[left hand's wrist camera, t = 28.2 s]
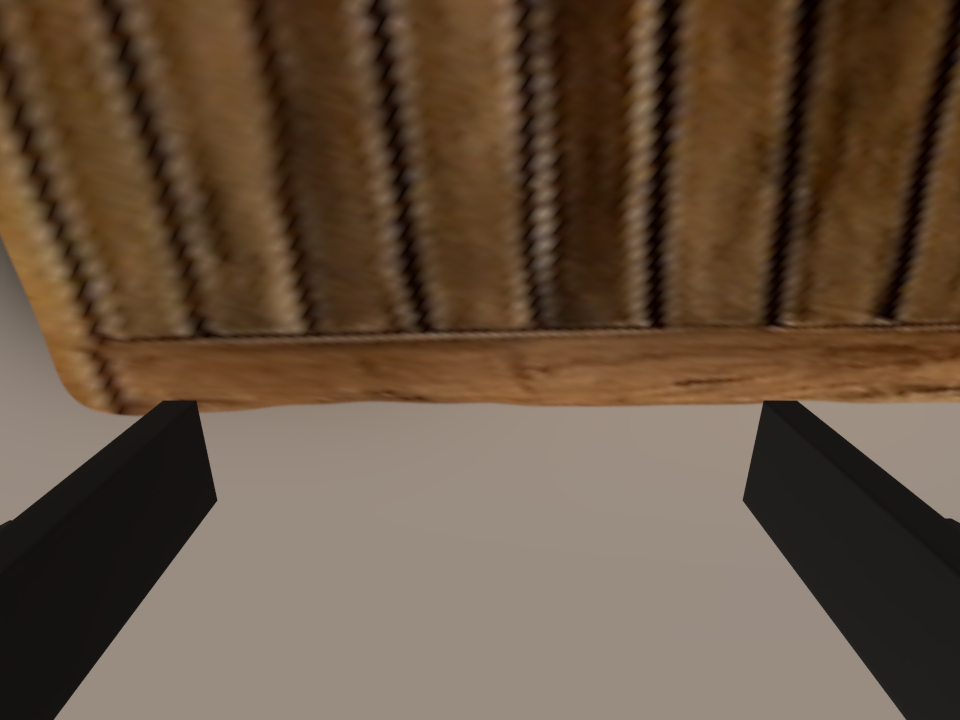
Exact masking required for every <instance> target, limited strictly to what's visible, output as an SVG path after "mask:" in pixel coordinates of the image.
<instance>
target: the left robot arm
mask: <svg viewBox="0 0 960 720" xmlns="http://www.w3.org/2000/svg"><path fill="white" fill-rule="evenodd" d="M216 502H217V497H216V492H215V487H214V482H213V478H212V473H211V468H210V463H209V459H208V454H207V449H206V445H205V440H204V435H203V430H202V426H201V421H200V416H199V411H198V407H197V402H196V401H162V402H161V403H160V404H158V405H157V406H156V407H155V408H153V409H152V410H151V411H150V412H148V413H147V414H146V415H145V416H143V417H142V418H141V419H139V420H138V421H137V422H136V423H134V424H133V425H132V426H131V427H129V428H128V429H127V430H126V431H124V432H123V433H122V434H121V435H119V436H118V437H117V438H116V439H114V440H113V441H112V442H111V443H109V444H108V445H107V446H106V447H104V448H103V449H102V450H101V451H99V452H98V453H97V454H96V455H94V456H93V457H92V458H90V459H89V460H88V461H87V462H85V463H84V464H83V465H82V466H81V467H79V468H78V469H77V470H75V471H74V472H73V473H72V474H70V475H69V476H68V477H67V478H65V479H64V480H63V481H62V482H60V483H59V484H58V485H57V486H55V487H54V488H53V489H52V490H50V491H49V492H48V493H47V494H45V495H44V496H43V497H41V498H40V499H39V500H38V501H36V502H35V503H34V504H33V505H31V506H30V507H29V508H28V509H27V510H25V511H24V512H23V513H21V514H20V515H19V516H18V517H16V518H15V519H14V520H10V521H8V522H6V523H4V524H2V525H0V720H54V719H55V717H56V716H57V715H58V713H59V712H60V711H61V709H62V708H63V707H64V705H65V704H66V703H67V701H68V700H69V699H70V697H71V696H72V694H73V693H74V692H75V690H76V689H77V688H78V686H79V685H80V684H81V682H82V681H83V680H84V678H85V677H86V676H87V674H88V673H89V672H90V670H91V669H92V668H93V666H94V665H95V664H96V662H97V661H98V660H99V658H100V657H101V656H102V654H103V653H104V652H105V650H106V649H107V648H108V646H109V645H110V643H111V642H112V641H113V640H114V638H115V637H116V636H117V634H118V633H119V631H120V630H121V629H122V627H123V626H124V625H125V623H126V622H127V621H128V619H129V618H130V617H131V615H132V614H133V613H134V611H135V610H136V609H137V607H138V606H139V605H140V603H141V602H142V601H143V599H144V598H145V597H146V595H147V594H148V593H149V591H150V590H151V589H152V587H153V586H154V585H155V583H156V582H157V580H158V579H159V578H160V577H161V575H162V574H163V573H164V571H165V570H166V569H167V567H168V566H169V564H170V563H171V562H172V560H173V559H174V558H175V556H176V555H177V554H178V552H179V551H180V550H181V548H182V547H183V546H184V544H185V543H186V542H187V540H188V539H189V538H190V536H191V535H192V534H193V532H194V531H195V530H196V528H197V527H198V526H199V524H200V523H201V522H202V520H203V519H204V518H205V516H206V515H207V514H208V512H209V511H210V510H211V508H212V507H213V506H214V504H215V503H216ZM743 502H744V503H745V504H746V506H747V507H748V508H749V510H750V511H751V512H752V514H753V515H754V516H755V518H756V519H757V520H758V522H759V523H760V524H761V526H762V527H763V528H764V530H765V531H766V532H767V534H768V535H769V536H770V538H771V539H772V540H773V542H774V543H775V544H776V546H777V547H778V548H779V550H780V551H781V552H782V554H783V555H784V556H785V558H786V559H787V560H788V562H789V563H790V564H791V566H792V567H793V569H794V570H795V571H796V573H797V574H798V575H799V577H800V578H801V579H802V581H803V582H804V583H805V585H806V586H807V587H808V589H809V590H810V591H811V593H812V594H813V595H814V597H815V598H816V599H817V601H818V602H819V603H820V605H821V606H822V607H823V609H824V610H825V611H826V613H827V614H828V615H829V617H830V618H831V619H832V621H833V622H834V623H835V625H836V626H837V627H838V629H839V630H840V631H841V633H842V634H843V636H844V637H845V638H846V640H847V641H848V642H849V644H850V645H851V646H852V648H853V649H854V650H855V652H856V653H857V654H858V656H859V657H860V658H861V660H862V661H863V662H864V664H865V665H866V666H867V668H868V669H869V670H870V672H871V673H872V674H873V676H874V677H875V678H876V680H877V681H878V682H879V684H880V685H881V686H882V688H883V689H884V690H885V692H886V693H887V694H888V696H889V697H890V698H891V700H892V701H893V702H894V704H895V705H896V707H897V708H898V709H899V711H900V712H901V713H902V714H903V716H904V717H905V719H906V720H960V523H959V522H957V521H955V520H953V519H945V518H944V517H942V516H941V515H940V514H939V513H937V512H936V511H935V510H933V509H932V508H931V507H930V506H929V505H927V504H926V503H925V502H924V501H922V500H921V499H920V498H918V497H917V496H916V495H915V494H913V493H912V492H911V491H910V490H908V489H907V488H906V487H905V486H903V485H902V484H901V483H900V482H898V481H897V480H896V479H895V478H893V477H892V476H891V475H890V474H888V473H887V472H886V471H885V470H883V469H882V468H881V467H880V466H878V465H877V464H876V463H875V462H873V461H872V460H871V459H869V458H868V457H867V456H866V455H864V454H863V453H862V452H861V451H859V450H858V449H857V448H856V447H854V446H853V445H852V444H851V443H849V442H848V441H847V440H846V439H844V438H843V437H842V436H841V435H839V434H838V433H837V432H836V431H834V430H833V429H832V428H831V427H829V426H828V425H827V424H826V423H824V422H823V421H822V420H820V419H819V418H818V417H817V416H815V415H814V414H813V413H812V412H810V411H809V410H808V409H807V408H805V407H804V406H803V405H802V404H800V403H799V402H798V401H764V402H763V407H762V412H761V416H760V421H759V426H758V431H757V435H756V440H755V445H754V449H753V454H752V459H751V463H750V468H749V473H748V478H747V482H746V487H745V492H744V497H743Z"/></svg>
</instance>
